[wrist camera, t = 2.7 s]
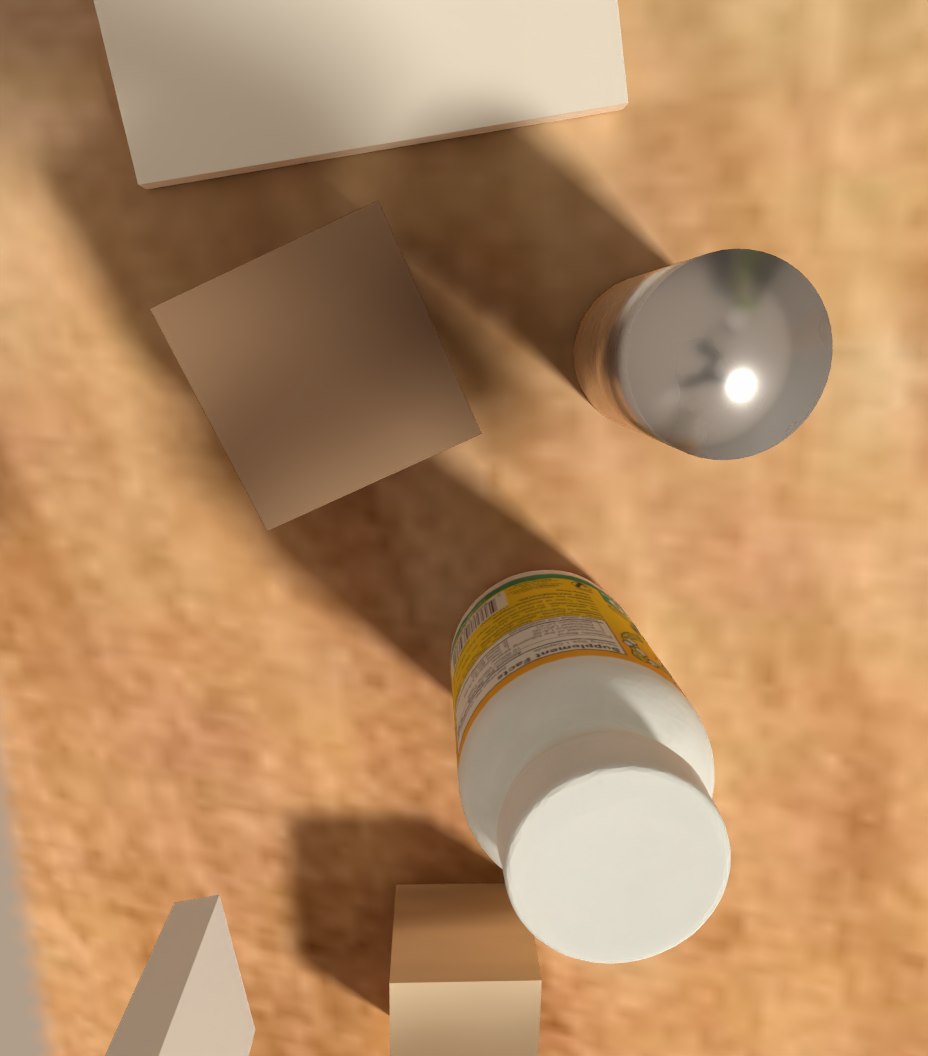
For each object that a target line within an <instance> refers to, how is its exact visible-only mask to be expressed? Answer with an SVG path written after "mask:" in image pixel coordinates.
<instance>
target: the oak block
mask: <svg viewBox="0 0 928 1056" xmlns="http://www.w3.org/2000/svg"><path fill="white" fill-rule="evenodd" d="M541 983H542V980H541V974H540V968H539V962H538V957H537V951H536V945H535V939H534V935H533V934H532V933H531V932H530V931H529V930H528V929H527V928H526V926H525V925H524V924H523V923H522V921H521V920H520V919H519V917H518V915H517V914H516V912H515V911H514V909H513V907H512V904H511V902H510V899H509V896H508V893H507V890H506V885H505V883H465V884H396V890H395V905H394V921H393V936H392V951H391V967H390V982H389V995H390V1056H538V1050H539V1027H540V1005H541Z"/></svg>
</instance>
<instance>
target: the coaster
mask: <svg viewBox="0 0 928 1056" xmlns="http://www.w3.org/2000/svg"><path fill="white" fill-rule="evenodd" d="M93 1H94V5H95V9H96V13H97V17H98V21H99V26H100V30H101V34H102V38H103V42H104V46H105V50H106V55H107V59H108V63H109V67H110V71H111V75H112V79H113V83H114V88H115V92H116V96H117V100H118V104H119V108H120V112H121V117H122V121H123V125H124V129H125V133H126V137H127V141H128V146H129V150H130V154H131V158H132V162H133V166H134V170H135V175H136V179H137V183H138V185H139V186H141V187H143V188H145V189H152V188H158V187H164V186H170V185H176V184H182V183H188V182H194V181H200V180H206V179H212V178H218V177H224V176H230V175H236V174H242V173H248V172H254V171H260V170H266V169H272V168H278V167H284V166H290V165H296V164H302V163H308V162H314V161H320V160H325V159H331V158H337V157H343V156H349V155H355V154H361V153H367V152H373V151H379V150H385V149H391V148H397V147H403V146H409V145H415V144H421V143H427V142H433V141H439V140H445V139H451V138H457V137H463V136H469V135H475V134H481V133H487V132H493V131H499V130H505V129H511V128H517V127H522V126H528V125H534V124H540V123H546V122H552V121H558V120H564V119H570V118H576V117H582V116H588V115H594V114H600V113H606V112H612V111H618V110H623V109H624V107H625V106H626V105H627V104H628V95H627V85H626V76H625V66H624V57H623V47H622V38H621V28H620V19H619V9H618V0H93Z"/></svg>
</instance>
